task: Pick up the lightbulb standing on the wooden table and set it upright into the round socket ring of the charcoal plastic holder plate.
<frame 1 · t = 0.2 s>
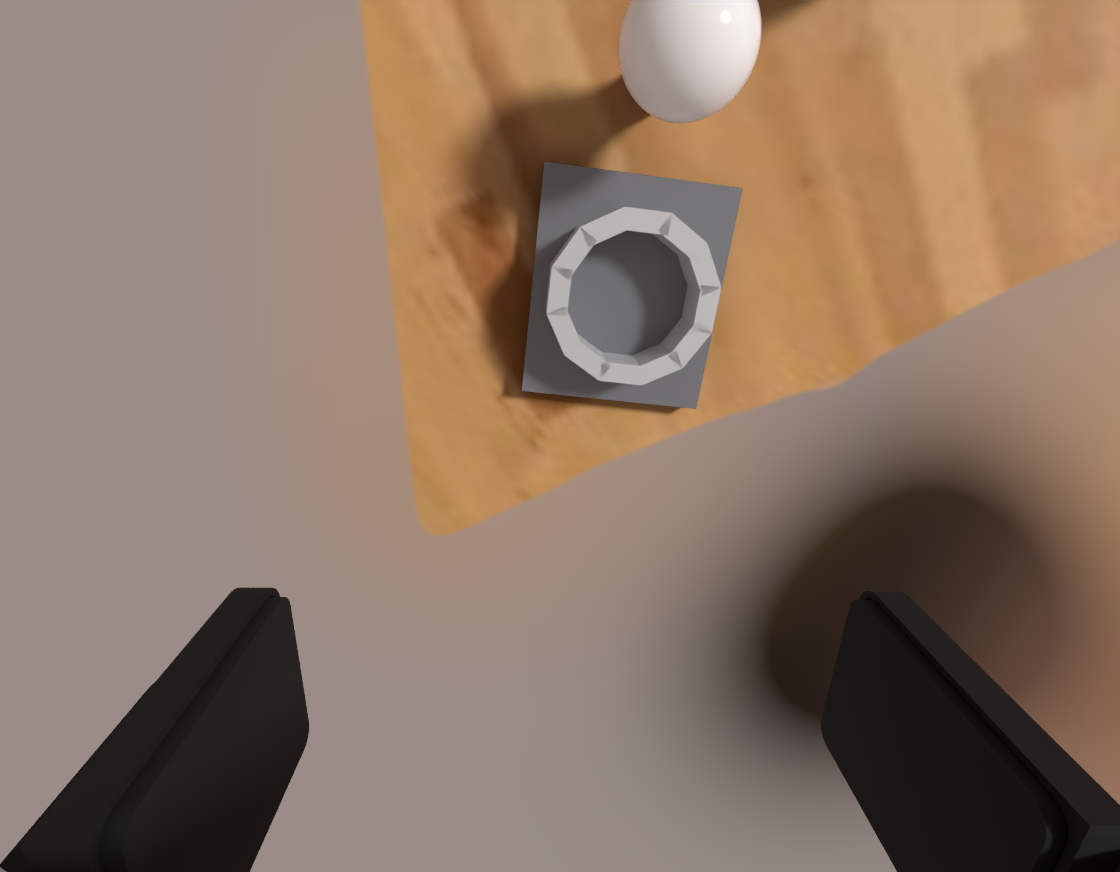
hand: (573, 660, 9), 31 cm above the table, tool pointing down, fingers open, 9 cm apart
socket holder: (622, 292, 37), on the table
lightbulb: (653, 85, 33), on the table
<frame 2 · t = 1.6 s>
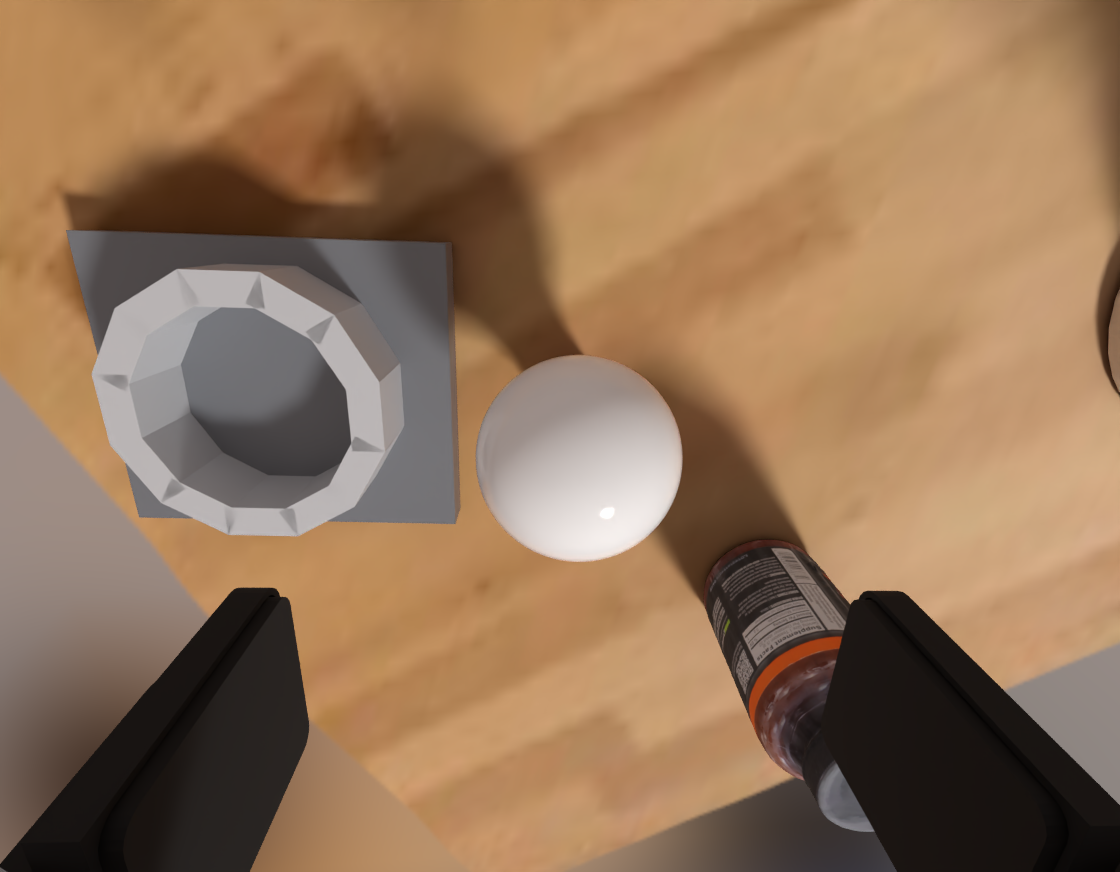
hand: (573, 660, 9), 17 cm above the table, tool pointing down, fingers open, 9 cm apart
supplement bottle: (757, 582, 29), on the table
socket holder: (295, 382, 25), on the table
lightbulb: (569, 388, 25), on the table
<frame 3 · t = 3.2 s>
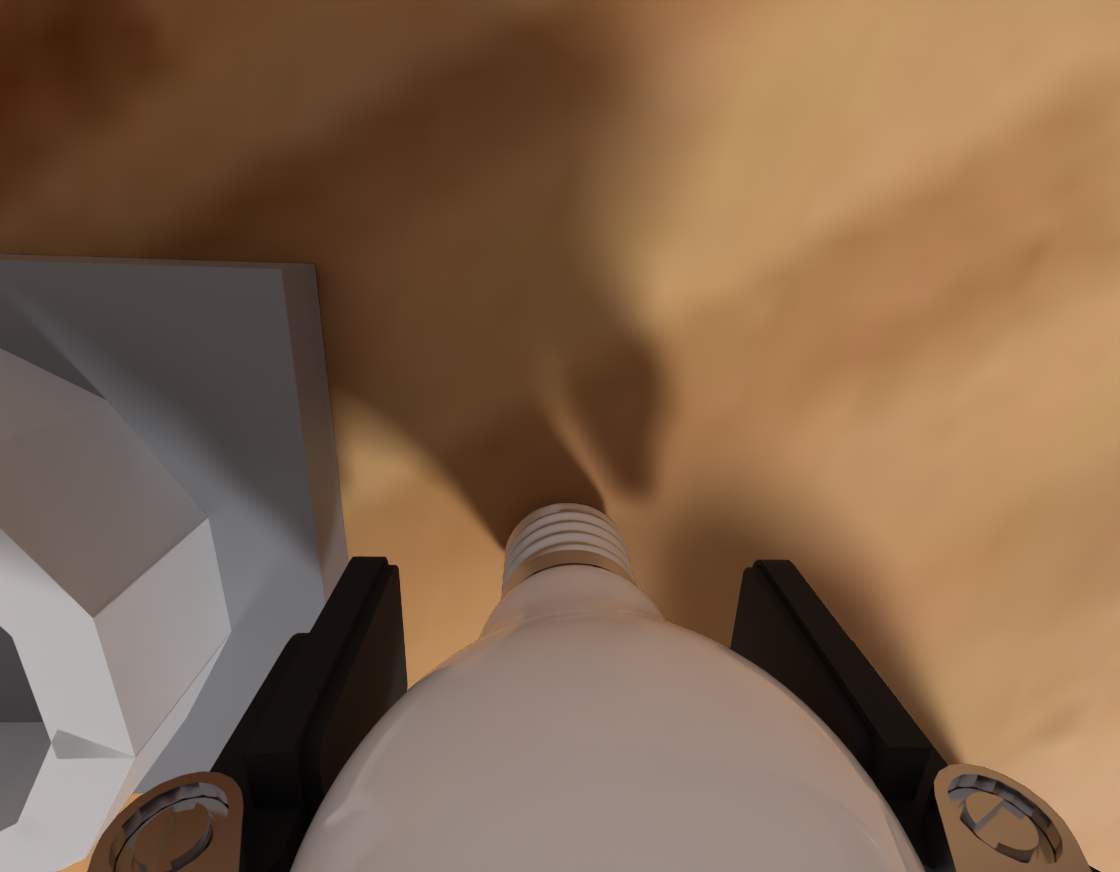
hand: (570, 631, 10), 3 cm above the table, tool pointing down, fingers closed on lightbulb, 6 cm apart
socket holder: (24, 535, 12), on the table
lightbulb: (564, 536, 13), on the table, touching gripper
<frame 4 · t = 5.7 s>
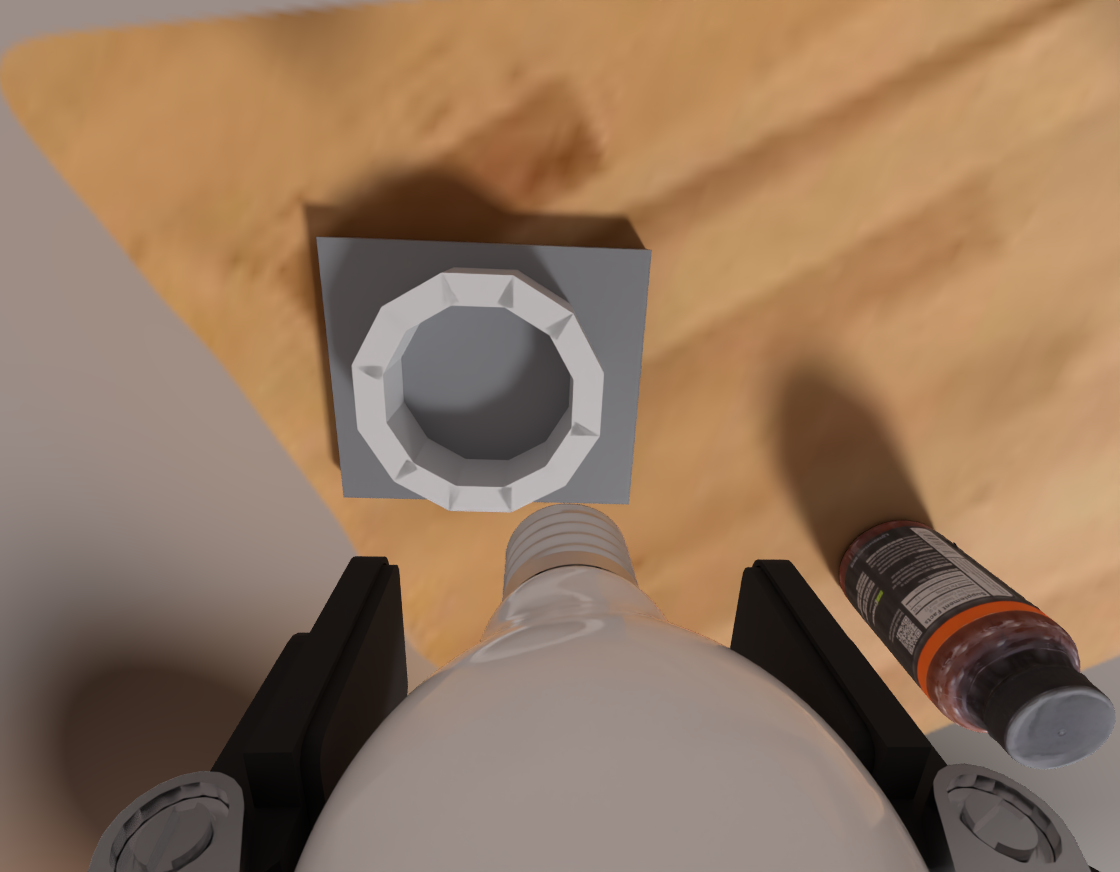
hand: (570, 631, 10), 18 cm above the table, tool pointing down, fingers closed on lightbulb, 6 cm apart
supplement bottle: (885, 560, 31), on the table
socket holder: (489, 374, 27), on the table
lightbulb: (564, 537, 13), point 15 cm above the table, touching gripper
when the fingers open (8 cm above the table, at t = 8.2 s): lightbulb drops 3 cm, resting on socket holder.
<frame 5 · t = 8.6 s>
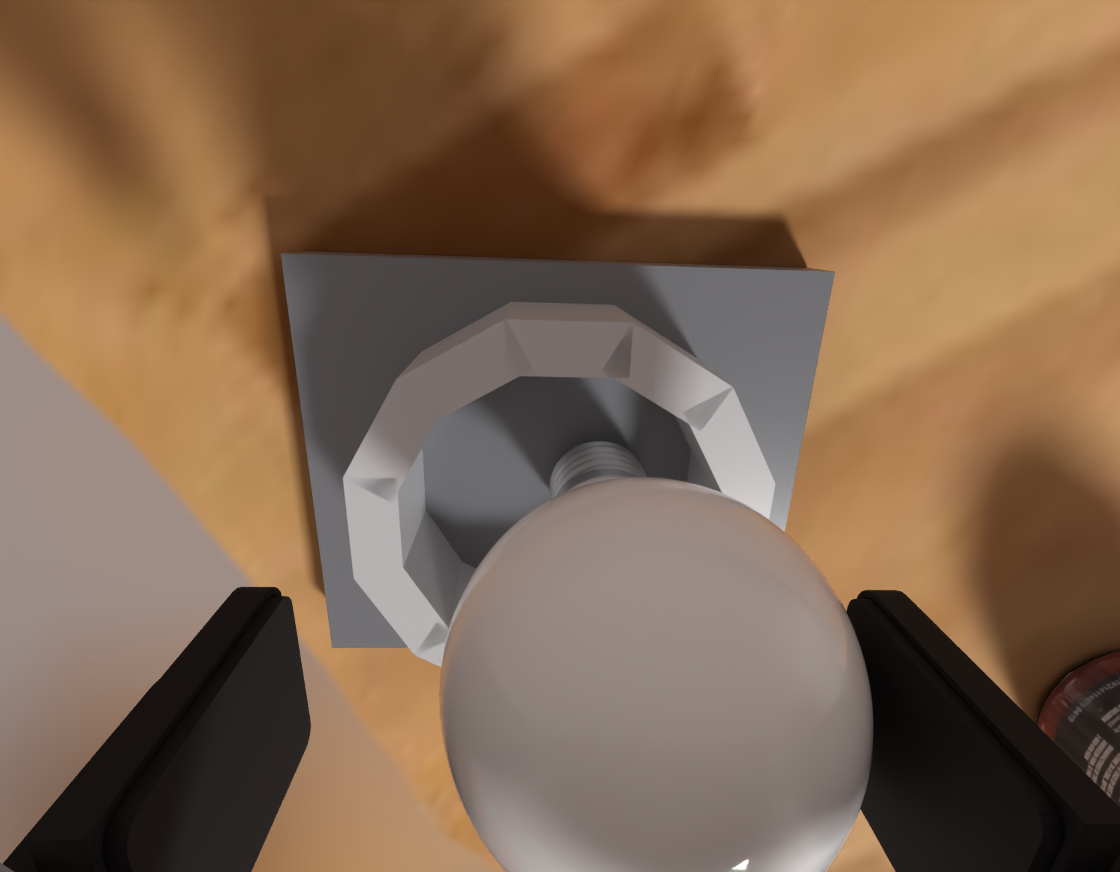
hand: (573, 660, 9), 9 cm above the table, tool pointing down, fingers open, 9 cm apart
supplement bottle: (1099, 698, 22), on the table
socket holder: (555, 459, 18), on the table
lightbulb: (594, 473, 16), point 1 cm above the table, touching socket holder
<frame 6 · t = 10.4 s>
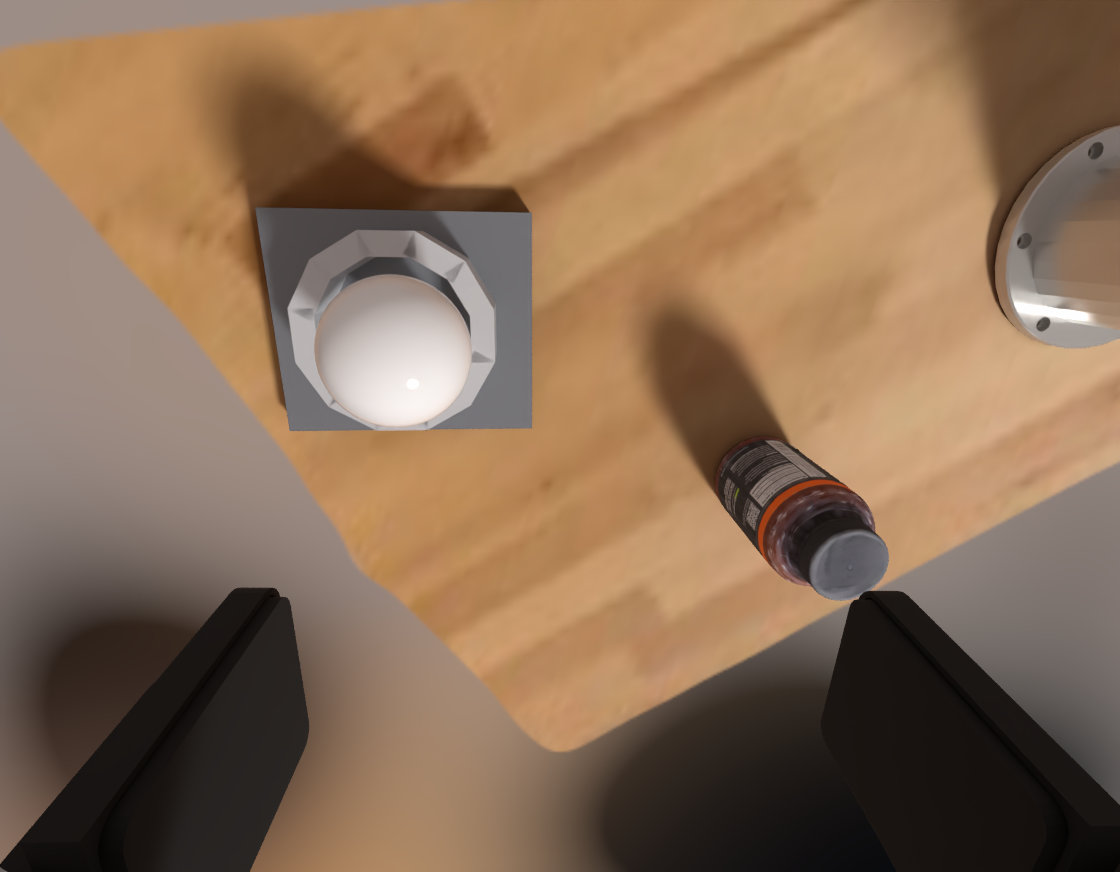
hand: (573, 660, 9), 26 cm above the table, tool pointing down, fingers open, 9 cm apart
supplement bottle: (754, 473, 38), on the table
socket holder: (409, 322, 33), on the table
lightbulb: (425, 324, 31), point 1 cm above the table, touching socket holder
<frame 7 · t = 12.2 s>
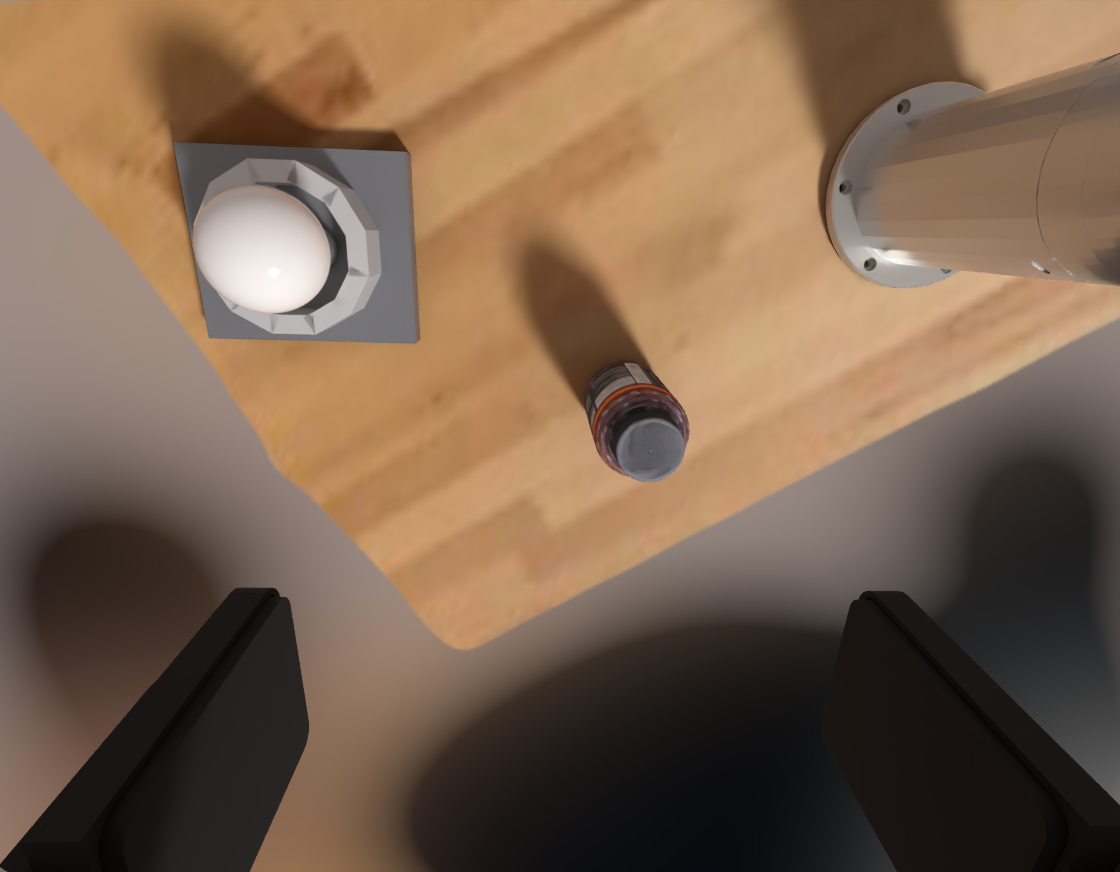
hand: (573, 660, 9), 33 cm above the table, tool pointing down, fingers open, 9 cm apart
supplement bottle: (622, 396, 43), on the table
socket holder: (311, 248, 38), on the table
lightbulb: (320, 247, 37), point 1 cm above the table, touching socket holder
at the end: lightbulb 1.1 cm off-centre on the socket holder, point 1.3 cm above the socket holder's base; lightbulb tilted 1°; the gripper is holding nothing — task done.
